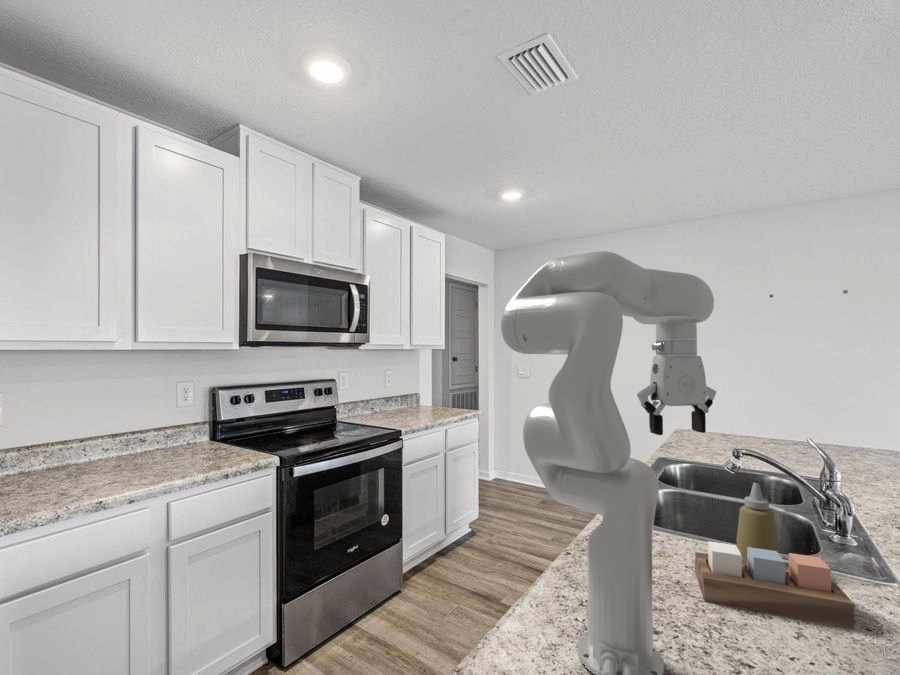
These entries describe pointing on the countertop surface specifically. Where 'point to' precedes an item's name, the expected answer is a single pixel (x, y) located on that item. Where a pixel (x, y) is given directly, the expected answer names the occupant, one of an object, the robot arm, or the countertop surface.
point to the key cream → (724, 559)
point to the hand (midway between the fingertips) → (677, 432)
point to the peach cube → (809, 572)
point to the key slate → (765, 565)
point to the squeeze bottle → (756, 524)
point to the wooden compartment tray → (774, 596)
